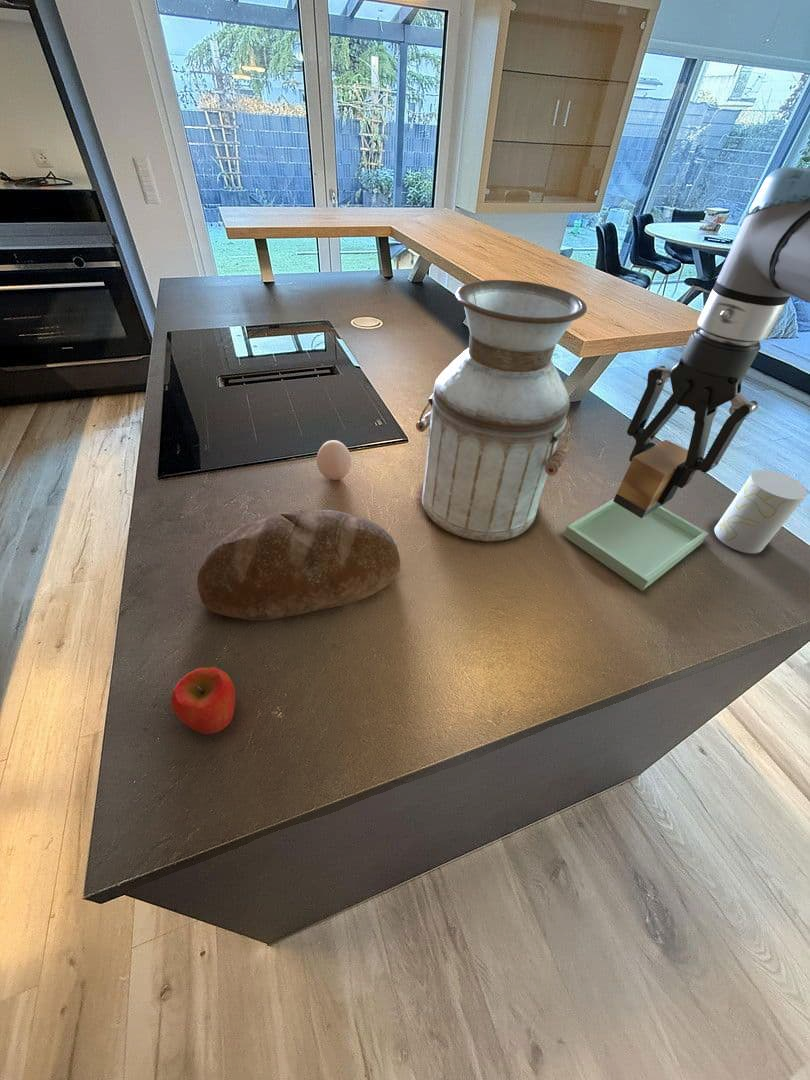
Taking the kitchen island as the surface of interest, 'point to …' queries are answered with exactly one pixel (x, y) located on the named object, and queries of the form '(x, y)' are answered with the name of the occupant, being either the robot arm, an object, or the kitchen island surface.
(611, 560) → the tray
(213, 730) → the apple
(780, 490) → the white cylinder
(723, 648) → the kitchen island surface
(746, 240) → the robot arm
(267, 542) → the bread
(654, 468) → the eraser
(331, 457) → the egg
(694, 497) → the kitchen island surface
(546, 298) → the white milk churn
